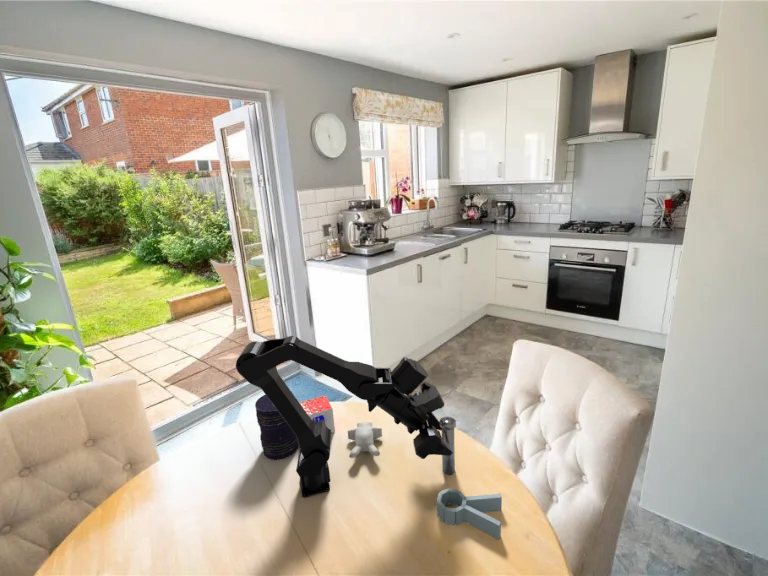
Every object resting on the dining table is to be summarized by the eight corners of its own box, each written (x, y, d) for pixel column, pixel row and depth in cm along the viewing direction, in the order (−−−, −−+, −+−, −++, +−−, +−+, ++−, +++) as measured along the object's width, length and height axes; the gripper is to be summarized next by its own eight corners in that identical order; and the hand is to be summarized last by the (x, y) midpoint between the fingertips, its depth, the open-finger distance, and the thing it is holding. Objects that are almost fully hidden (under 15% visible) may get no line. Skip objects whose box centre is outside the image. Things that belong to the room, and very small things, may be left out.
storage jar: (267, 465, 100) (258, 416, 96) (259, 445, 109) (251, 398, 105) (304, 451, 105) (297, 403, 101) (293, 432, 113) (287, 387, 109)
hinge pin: (445, 477, 93) (443, 427, 89) (438, 467, 96) (436, 418, 92) (459, 473, 94) (458, 423, 90) (452, 463, 97) (451, 415, 93)
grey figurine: (380, 416, 112) (382, 444, 97) (381, 432, 113) (383, 463, 98) (348, 418, 112) (344, 447, 97) (349, 434, 112) (346, 466, 98)
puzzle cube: (327, 417, 119) (325, 395, 117) (335, 431, 112) (332, 408, 110) (302, 425, 116) (299, 402, 114) (308, 440, 109) (304, 416, 107)
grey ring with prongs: (434, 525, 80) (434, 512, 79) (441, 495, 87) (440, 482, 87) (500, 540, 76) (500, 526, 75) (501, 507, 83) (501, 493, 82)
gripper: (429, 403, 79) (482, 443, 82) (415, 362, 97) (459, 396, 100) (393, 440, 80) (447, 478, 84) (386, 393, 98) (430, 425, 102)
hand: (446, 440), depth 92 cm, fingers open, 9 cm apart
